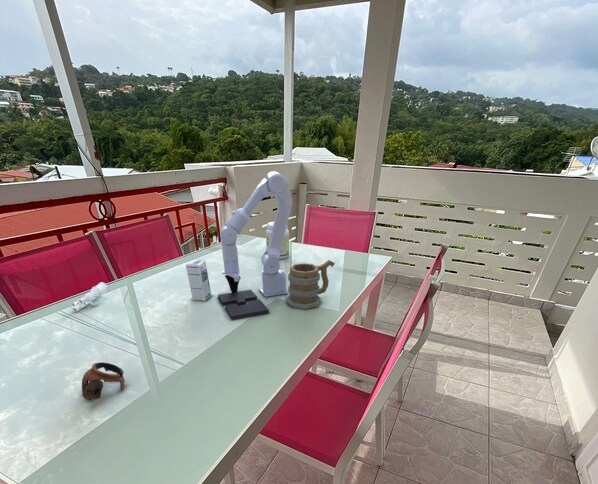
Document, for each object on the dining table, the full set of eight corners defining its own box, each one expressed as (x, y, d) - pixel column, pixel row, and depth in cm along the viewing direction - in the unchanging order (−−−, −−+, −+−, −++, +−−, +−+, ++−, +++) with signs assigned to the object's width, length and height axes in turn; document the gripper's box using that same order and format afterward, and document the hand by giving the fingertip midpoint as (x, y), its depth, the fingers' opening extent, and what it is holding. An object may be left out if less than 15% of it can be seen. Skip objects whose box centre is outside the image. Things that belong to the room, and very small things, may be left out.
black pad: (251, 292, 139) (250, 289, 138) (259, 302, 131) (258, 298, 130) (218, 298, 134) (217, 294, 133) (224, 308, 126) (224, 304, 125)
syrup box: (205, 301, 131) (199, 265, 123) (191, 299, 132) (185, 263, 124) (211, 295, 136) (206, 260, 127) (198, 294, 137) (192, 259, 128)
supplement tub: (266, 253, 184) (265, 221, 174) (288, 252, 185) (288, 220, 176) (267, 260, 174) (265, 226, 164) (290, 259, 175) (290, 226, 166)
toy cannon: (81, 316, 123) (67, 306, 121) (103, 301, 134) (91, 292, 132) (89, 303, 119) (76, 293, 117) (112, 288, 130) (100, 279, 129)
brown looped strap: (86, 384, 88) (94, 356, 86) (123, 394, 91) (132, 368, 89) (66, 404, 77) (75, 373, 75) (109, 415, 80) (119, 385, 78)
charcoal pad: (259, 302, 131) (259, 299, 130) (268, 313, 123) (268, 309, 122) (225, 308, 126) (224, 305, 125) (232, 320, 118) (231, 316, 118)
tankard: (296, 311, 125) (297, 272, 116) (282, 299, 134) (281, 262, 125) (340, 301, 132) (344, 264, 124) (324, 290, 142) (326, 255, 133)
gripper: (216, 255, 132) (220, 287, 140) (225, 266, 122) (229, 300, 129) (233, 253, 135) (236, 285, 143) (243, 264, 124) (246, 297, 132)
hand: (234, 292), depth 136 cm, fingers closed
